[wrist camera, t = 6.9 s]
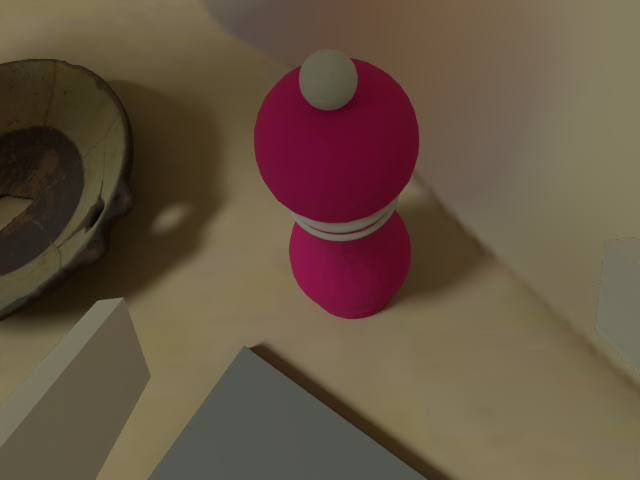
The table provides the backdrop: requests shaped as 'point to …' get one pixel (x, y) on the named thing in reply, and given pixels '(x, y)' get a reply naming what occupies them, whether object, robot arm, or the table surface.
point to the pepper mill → (341, 178)
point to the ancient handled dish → (58, 174)
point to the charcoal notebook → (273, 435)
